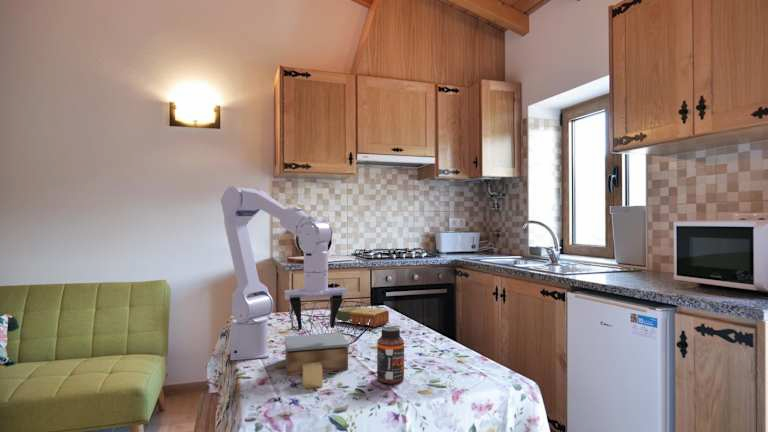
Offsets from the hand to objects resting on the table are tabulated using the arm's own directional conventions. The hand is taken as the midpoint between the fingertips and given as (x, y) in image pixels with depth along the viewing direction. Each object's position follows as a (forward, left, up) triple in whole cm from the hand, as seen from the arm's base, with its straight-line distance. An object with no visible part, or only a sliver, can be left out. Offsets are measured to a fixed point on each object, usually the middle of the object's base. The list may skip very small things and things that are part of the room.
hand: (316, 327), depth 109 cm
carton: (+24, +35, -12) cm, 44 cm away
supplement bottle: (+15, -13, -10) cm, 22 cm away
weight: (-2, -11, -9) cm, 15 cm away
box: (0, +2, -9) cm, 10 cm away
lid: (0, +8, -4) cm, 9 cm away
